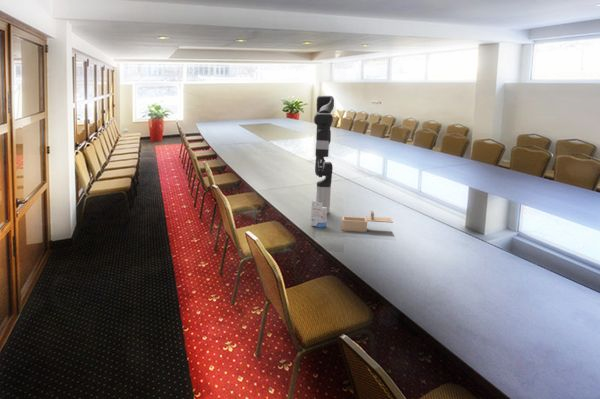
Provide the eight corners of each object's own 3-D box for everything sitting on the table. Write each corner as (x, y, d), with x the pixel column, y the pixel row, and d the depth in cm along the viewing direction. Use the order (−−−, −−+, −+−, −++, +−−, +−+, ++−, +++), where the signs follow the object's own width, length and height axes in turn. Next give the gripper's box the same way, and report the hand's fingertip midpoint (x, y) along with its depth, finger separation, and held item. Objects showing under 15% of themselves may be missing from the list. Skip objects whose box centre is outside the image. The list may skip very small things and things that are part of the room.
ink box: (326, 226, 240) (327, 202, 238) (321, 227, 236) (322, 203, 234) (315, 224, 245) (316, 200, 243) (310, 225, 242) (311, 201, 239)
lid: (365, 217, 240) (366, 209, 240) (390, 218, 239) (390, 211, 238) (367, 221, 229) (367, 213, 228) (392, 222, 228) (393, 214, 227)
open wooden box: (341, 226, 242) (342, 216, 241) (365, 227, 241) (366, 217, 240) (342, 230, 232) (342, 220, 231) (366, 231, 230) (367, 221, 229)
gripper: (328, 149, 226) (326, 178, 229) (329, 148, 240) (327, 175, 243) (314, 148, 227) (313, 177, 229) (316, 147, 241) (315, 175, 243)
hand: (320, 176), depth 236 cm, fingers open, 7 cm apart
